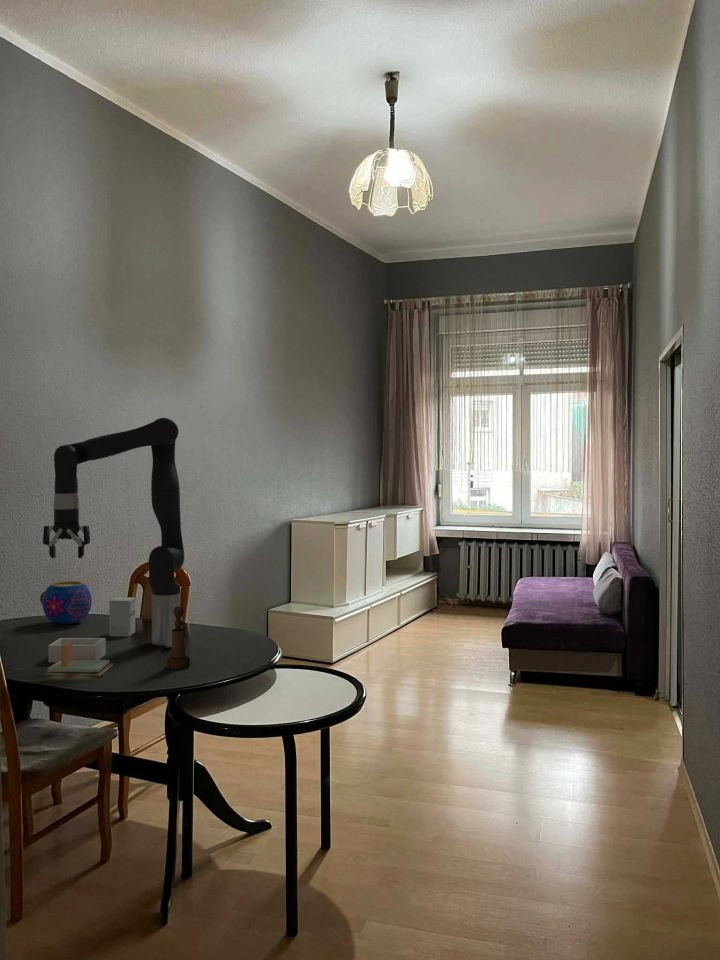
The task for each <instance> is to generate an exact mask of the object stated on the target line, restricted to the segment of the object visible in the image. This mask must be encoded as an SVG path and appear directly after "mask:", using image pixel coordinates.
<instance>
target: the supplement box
mask: <svg viewBox="0 0 720 960" xmlns="http://www.w3.org/2000/svg"><path fill="white" fill-rule="evenodd" d="M108 603H109V604H108V605H109V606H108V607H109V610H108V611H109V612H108V613H109V616H108V621H109V622H108V623H109V624H108V625H109V627H108V628H109V629H108V631H109V632H108V636H109V637H127V638H128V637H130V636H132V635H133V634H135V633H136V597H124V596H123V597H114V598H112V599H110V600H109V602H108Z"/></svg>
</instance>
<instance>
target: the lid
mask: <svg viewBox="0 0 720 960" xmlns="http://www.w3.org/2000/svg"><path fill="white" fill-rule="evenodd" d="M107 664H111V662H110V659H99V660H73V642H66V643H65V644H63V645H61V660H60V661H58V662H54V664H52V665H51V666H49V667H48V668H47V669H46V673H47V672H99V671H100V670H101V669H102V668H104V667H105V666H106V665H107Z"/></svg>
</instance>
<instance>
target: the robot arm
mask: <svg viewBox="0 0 720 960" xmlns="http://www.w3.org/2000/svg"><path fill="white" fill-rule="evenodd" d="M178 436H179V427H178V425H177V423H176V422H175V421H174V420H172V419H170V418H168V417H160V418H157V419H155V420H154V421H152V422H150V423H147V424H145V425H143V426H139V427H137V428H133V429H129V430H126V431H119V432H115V433H109V434H105V435H101V436H97V437H92V438H89V439H86V440H84V441H79V442H73V443H69V444H63V445H60V446H58V447H57V448H56V449H55V451H54V453H53V463H54V464H53V465H54V466H53V467H54V474H55V477H54V497H53V525H49V524H48V525H44V526H43V531H42V532H43V533H42V534H43V535H42V545H45V546H48V549H49V550H48V553H49V554H48V555H49V557H50V558H51V559H55V558H56V557H57V555H56V550H57V549H56V546H55V545H56V543H58V541H59V540H65V539H66V540H73V541H74V542H75V543H76V544H77V545H78V546H77V558H78V559H82V558H83V556H85V546H86V545H88V544H90V543H91V533H90V526H89V525H88V524H87V525H80V502H79V482H78V476H77V475H78V465H80V464H83V463H86V462H89V461H90V462H91V461H97V460H102V459H105V458H109V457H113V456H116V455H119V454H122V453H125V452H129V451H131V450H132V451H133V450H134V449H138V448H139V449H140V448H143V447H149V446H150V448H151V457H152V468H151V480H150V482H151V483H150V485H151V486H150V488H151V489H150V492H151V493H150V496H151V507H152V510H153V514H154V516H155V517H156V520H157V523H158V524H159V528H160V534H161V535H160V536H161V545H159V546H156V547H154V548H153V549H152V550H150V554H149V557H148V578H149V579H148V580H149V585H150V588H151V644H152V645H155V646H164V647H163V648H164V649H165V648H172V630H173V629H176V627H175V621H176V617H175V615H174V613H173V610H174V608H175V607H178V606H181V585H180V583H178V582H176V580H175V579H176V578H175V572H176V571H178V570H180V569H181V568H182V567H183V565H184V563H185V562H184V561H185V550H184V549H185V548H184V543H183V536H182V535H183V534H182V525H181V524H182V523H181V522H182V521H181V492H180V489H181V487H180V481H179V476H178V470H177V465H176V457H175V456H176V442H177V438H178ZM52 531H53V532H54V533H55V534H54V536H53V537H52V538H50V537H51V533H52ZM80 531H81V533H83V539H82V537H81V536H80V535H79V532H80ZM181 621H182V622H183V616H182V617H181ZM181 628H183V625H182V626H181Z"/></svg>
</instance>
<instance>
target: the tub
mask: <svg viewBox="0 0 720 960" xmlns="http://www.w3.org/2000/svg"><path fill="white" fill-rule="evenodd" d="M66 642H73V660H101V659H102V658H103V657H104V656H106V654H107V653H106V651H107V648H106V637H105V638H104V637H103V638H102V637H89V638H87V637H84V638H83V637H63V638H62V637H60V638H58V639H56V640H55V641H53V642H52V643H50V644H49V645H48V646H47V647H48V657H47V658H48V660H47V661H48V663H57V662H58V661H60V660H61V645H63V644H65V643H66Z"/></svg>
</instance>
